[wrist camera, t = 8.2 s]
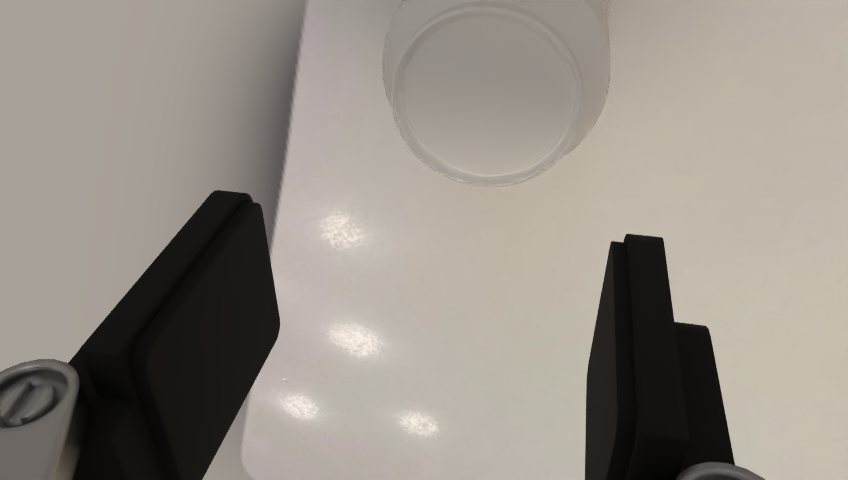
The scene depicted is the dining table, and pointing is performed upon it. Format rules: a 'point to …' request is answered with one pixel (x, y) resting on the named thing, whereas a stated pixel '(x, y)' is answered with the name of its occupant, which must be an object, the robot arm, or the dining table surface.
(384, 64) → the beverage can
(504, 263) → the dining table surface
